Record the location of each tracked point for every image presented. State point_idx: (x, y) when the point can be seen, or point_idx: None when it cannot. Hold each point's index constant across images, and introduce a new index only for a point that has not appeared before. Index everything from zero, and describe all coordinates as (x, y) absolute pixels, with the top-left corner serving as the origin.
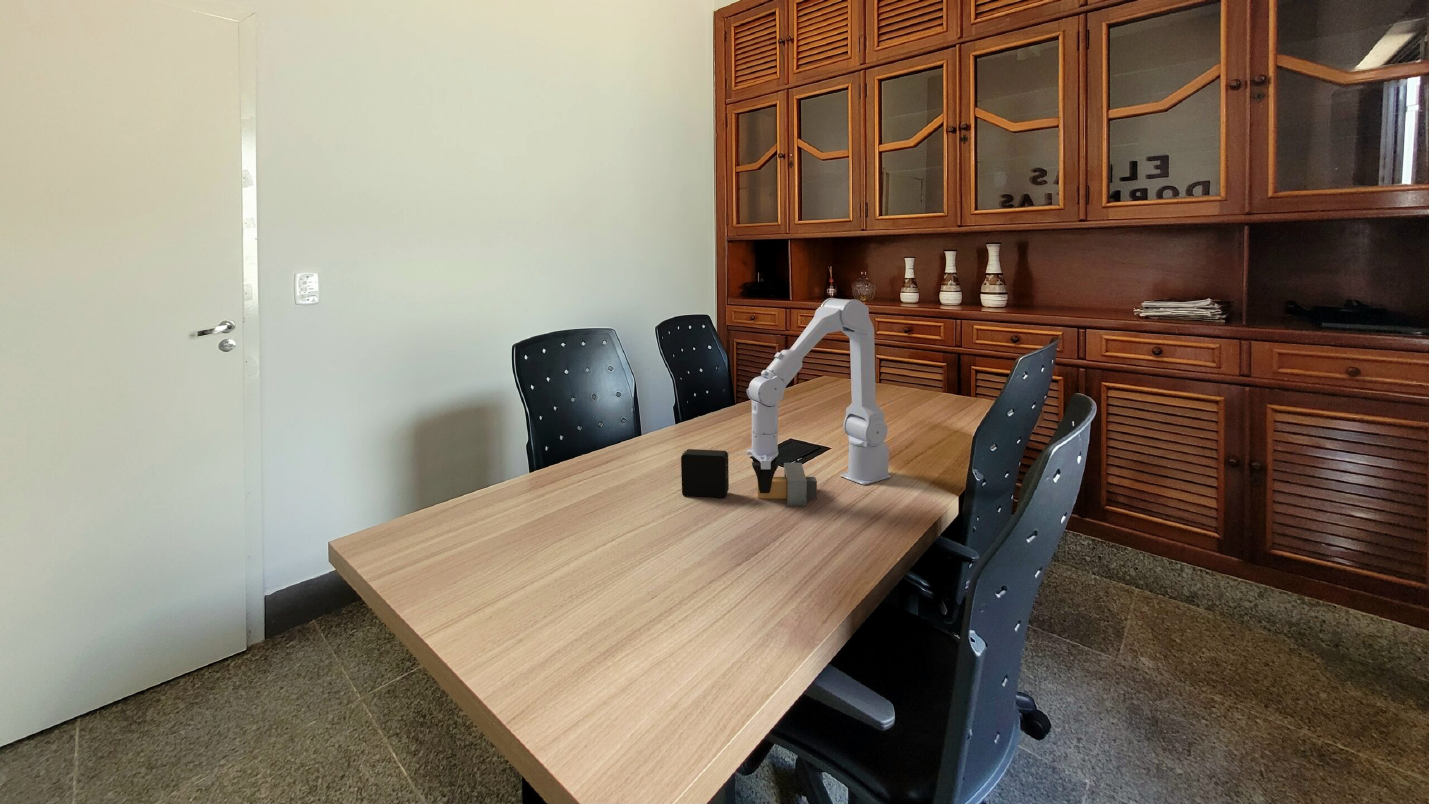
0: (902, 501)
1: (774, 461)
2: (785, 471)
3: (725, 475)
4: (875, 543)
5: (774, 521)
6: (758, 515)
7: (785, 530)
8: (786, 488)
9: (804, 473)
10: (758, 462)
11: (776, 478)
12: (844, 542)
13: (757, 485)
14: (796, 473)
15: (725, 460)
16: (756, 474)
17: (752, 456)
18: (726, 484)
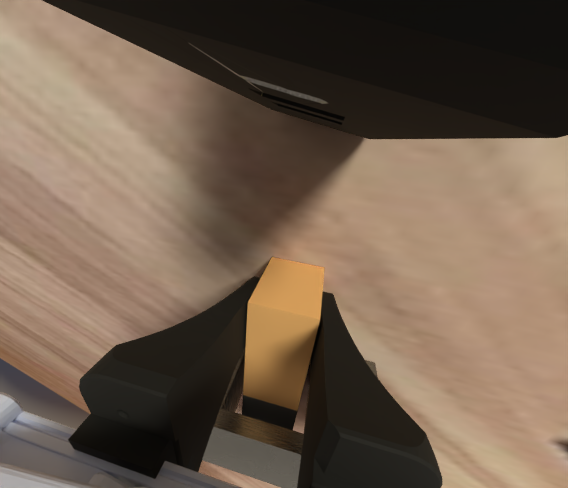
0: (237, 478)
1: (298, 484)
2: (290, 437)
3: (227, 87)
4: (65, 379)
5: (98, 259)
6: (126, 225)
7: (57, 269)
8: (238, 365)
9: (229, 469)
10: (155, 426)
11: (280, 378)
12: (50, 346)
13: (304, 287)
14: (230, 454)
15: (72, 5)
16: (173, 326)
17: (394, 456)
18: (294, 113)
